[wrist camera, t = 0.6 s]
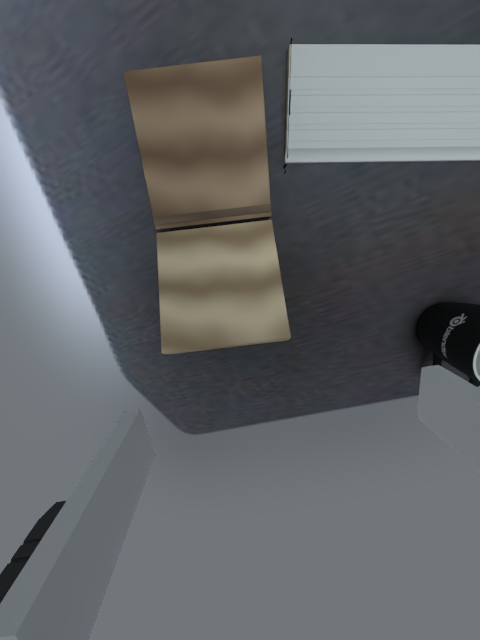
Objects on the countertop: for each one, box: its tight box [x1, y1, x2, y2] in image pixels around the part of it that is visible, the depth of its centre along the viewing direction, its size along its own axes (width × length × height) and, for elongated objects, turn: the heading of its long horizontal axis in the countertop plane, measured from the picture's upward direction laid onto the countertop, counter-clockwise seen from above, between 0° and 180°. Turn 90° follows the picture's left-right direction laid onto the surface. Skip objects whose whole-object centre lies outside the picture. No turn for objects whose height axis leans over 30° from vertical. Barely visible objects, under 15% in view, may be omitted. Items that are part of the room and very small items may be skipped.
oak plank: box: [157, 220, 291, 354], centre depth 28 cm, size 14×14×2 cm
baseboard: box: [284, 38, 480, 173], centre depth 27 cm, size 31×3×12 cm
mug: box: [417, 303, 480, 387], centre depth 31 cm, size 12×9×10 cm
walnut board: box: [123, 56, 271, 231], centre depth 27 cm, size 15×14×2 cm
